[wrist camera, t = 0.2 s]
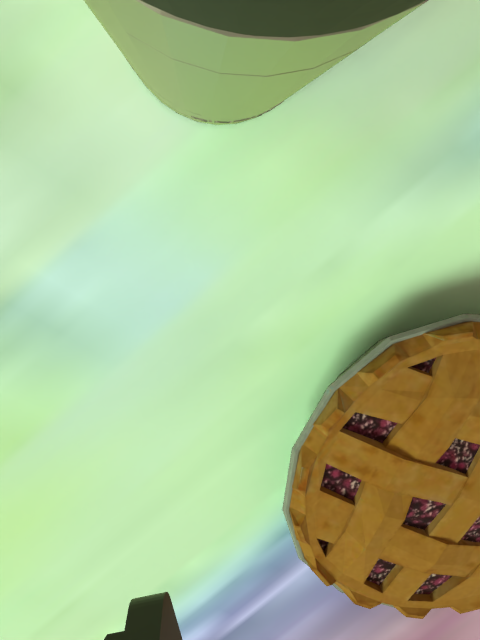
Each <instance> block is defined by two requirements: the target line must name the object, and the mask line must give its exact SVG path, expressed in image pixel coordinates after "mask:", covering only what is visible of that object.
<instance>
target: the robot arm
mask: <svg viewBox="0 0 480 640" xmlns="http://www.w3.org/2000/svg"><path fill="white" fill-rule="evenodd" d="M84 1H85V3H86V4H87V5H88V7H89V8H90V10H91V11H92V12H93V14H94V15H95V16H96V18H97V19H98V21H99V22H100V23H101V25H102V26H103V27H104V29H105V30H106V32H107V33H108V34H109V36H110V37H111V38H112V40H113V41H114V43H115V44H116V45H117V47H118V48H119V50H120V51H121V52H122V54H123V55H124V56H125V58H126V60H127V61H128V62H129V64H130V65H131V67H132V68H133V69H134V71H135V72H136V73H137V75H138V76H139V78H140V79H141V80H142V82H143V83H144V84H145V86H146V87H147V88H148V89H149V90H150V91H151V92H152V93H153V94H154V95H155V96H156V97H157V98H158V99H159V100H160V101H161V102H162V103H163V104H165V105H166V106H168V107H169V108H171V109H172V110H174V111H175V112H176V113H178V114H180V115H183V116H185V117H187V118H190V119H192V120H195V121H197V122H203V123H209V124H215V125H222V124H237V123H240V122H243V121H247V120H250V119H253V118H256V117H258V116H261V115H262V114H264V113H266V112H268V111H270V110H272V109H273V108H275V107H276V106H278V105H279V104H281V103H282V102H283V101H284V100H285V99H287V98H288V97H290V96H291V95H293V94H294V93H295V92H297V91H298V90H300V89H301V88H303V87H304V86H306V85H307V84H308V83H310V82H311V81H313V80H314V79H316V78H317V77H319V76H320V75H321V74H323V73H324V72H326V71H327V70H329V69H330V68H332V67H333V66H334V65H336V64H337V63H339V62H340V61H342V60H343V59H344V58H346V57H347V56H349V55H350V54H352V53H353V52H355V51H356V50H357V49H359V48H360V47H362V46H363V45H364V44H366V43H367V42H369V41H370V40H371V39H373V38H374V37H376V36H377V35H379V34H380V33H382V32H383V31H384V30H386V29H387V28H389V27H390V26H392V25H393V24H395V23H396V22H398V21H399V20H400V19H402V18H403V17H405V16H406V15H408V14H409V13H411V12H412V11H414V10H415V9H416V8H418V7H419V6H421V5H422V4H424V3H425V2H427V1H428V0H84ZM104 640H182V637H181V633H180V630H179V626H178V623H177V619H176V616H175V612H174V609H173V605H172V602H171V599H170V596H169V594H168V592H164V593H159V594H154V595H149V596H144V597H140V598H135V599H132V600H131V602H130V605H129V609H128V614H127V620H126V626H125V631H122V632H117V633H112V634H107V636H106V637H105V639H104Z"/></svg>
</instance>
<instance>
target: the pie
mask: <svg viewBox="0 0 480 640" xmlns="http://www.w3.org/2000/svg"><path fill="white" fill-rule="evenodd" d="M283 512H284V515H285V518H286V521H287V524H288V527H289V530H290V533H291V536H292V539H293V542H294V545H295V548H296V551H297V554H298V557H299V559H300V560H302V561H303V562H304V563H305V564H307V565H308V566H309V567H310V568H311V570H312V571H313V572H314V573H315V574H316V575H317V576H318V577H319V578H320V580H321V581H322V582H323V583H324V584H325V585H326V586H330V585H333V586H334V587H335V588H336V589H338V590H339V591H340V592H342V593H345V594H346V595H347V596H348V597H349V598H350V599H351V600H352V602H353V603H354V604H356V605H359V606H362V607H365V608H369V609H371V608H373V607H375V606H377V605H379V604H384V605H387V606H391V607H394V608H396V609H397V610H399V611H400V612H401V613H402V614H403V615H405V616H406V617H411V618H420V619H423V618H424V617H425V616H426V615H427V613H428V612H429V611H430V610H431V609H433V608H445V607H451V608H452V609H454V610H455V611H457V612H458V613H460V614H461V613H465V612H469V611H473V610H477V609H480V314H461V315H458V316H455V317H451V318H448V319H445V320H442V321H438V322H435V323H432V324H429V325H425V326H422V327H419V328H416V329H412V330H409V331H406V332H403V333H399V334H396V335H393V336H389V337H388V338H385V339H382V340H380V341H378V342H377V343H376V344H375V345H374V346H373V347H372V348H370V349H369V350H368V351H367V352H366V353H365V354H364V355H362V356H361V357H360V358H359V359H358V360H357V361H356V362H354V363H353V364H352V365H351V366H350V367H349V368H348V369H346V370H345V371H344V372H343V373H342V374H341V375H339V376H338V377H337V379H336V381H334V382H333V383H332V384H331V385H330V386H328V388H327V390H326V391H325V393H324V395H323V397H322V398H321V400H320V402H319V403H318V405H317V407H316V409H315V410H314V412H313V414H312V415H311V417H310V419H309V421H308V422H307V424H306V426H305V427H304V429H303V431H302V433H301V434H300V436H299V438H298V439H297V441H296V443H295V444H294V446H293V448H292V452H291V458H290V465H289V471H288V477H287V484H286V490H285V496H284V502H283Z"/></svg>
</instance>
